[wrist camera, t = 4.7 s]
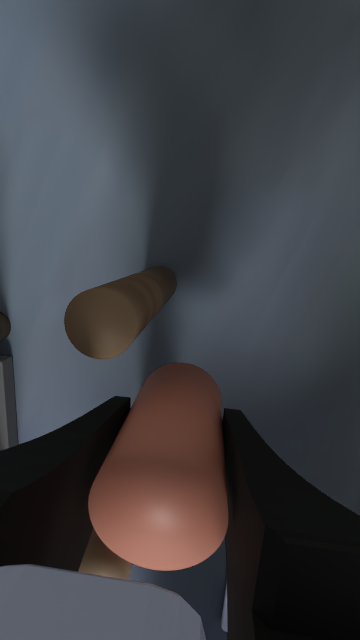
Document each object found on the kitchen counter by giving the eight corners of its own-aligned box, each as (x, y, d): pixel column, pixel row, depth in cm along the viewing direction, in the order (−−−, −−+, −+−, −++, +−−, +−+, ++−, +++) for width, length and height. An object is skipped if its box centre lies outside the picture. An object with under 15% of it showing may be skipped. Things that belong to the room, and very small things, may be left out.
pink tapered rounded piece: (225, 367, 13) (235, 461, 7) (217, 441, 14) (221, 580, 8) (141, 358, 13) (87, 443, 8) (138, 432, 14) (88, 559, 8)
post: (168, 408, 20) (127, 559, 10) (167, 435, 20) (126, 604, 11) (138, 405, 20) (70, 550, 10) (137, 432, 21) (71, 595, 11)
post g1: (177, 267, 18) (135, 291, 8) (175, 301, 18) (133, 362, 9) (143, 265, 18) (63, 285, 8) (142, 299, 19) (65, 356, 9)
